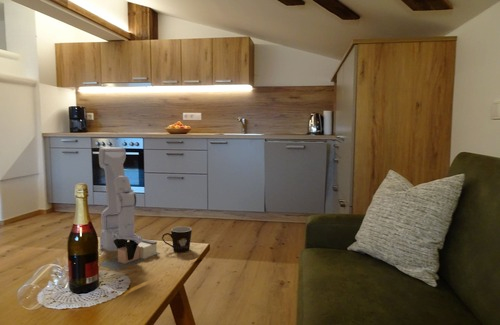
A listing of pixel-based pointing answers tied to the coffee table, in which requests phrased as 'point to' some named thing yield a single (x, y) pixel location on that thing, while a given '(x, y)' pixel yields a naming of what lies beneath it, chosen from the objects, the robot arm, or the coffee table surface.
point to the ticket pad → (147, 248)
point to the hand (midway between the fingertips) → (126, 258)
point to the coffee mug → (180, 239)
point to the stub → (123, 255)
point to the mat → (118, 265)
